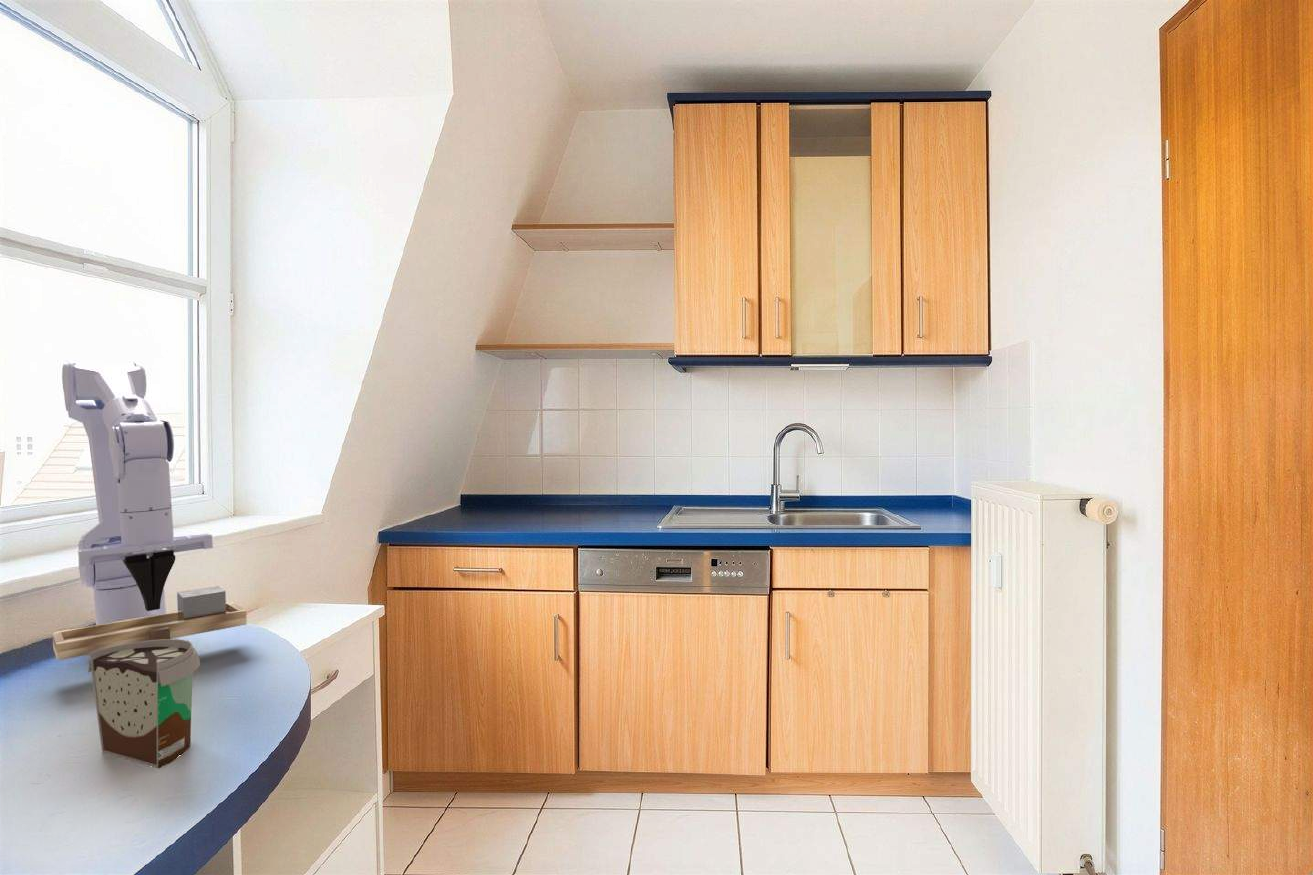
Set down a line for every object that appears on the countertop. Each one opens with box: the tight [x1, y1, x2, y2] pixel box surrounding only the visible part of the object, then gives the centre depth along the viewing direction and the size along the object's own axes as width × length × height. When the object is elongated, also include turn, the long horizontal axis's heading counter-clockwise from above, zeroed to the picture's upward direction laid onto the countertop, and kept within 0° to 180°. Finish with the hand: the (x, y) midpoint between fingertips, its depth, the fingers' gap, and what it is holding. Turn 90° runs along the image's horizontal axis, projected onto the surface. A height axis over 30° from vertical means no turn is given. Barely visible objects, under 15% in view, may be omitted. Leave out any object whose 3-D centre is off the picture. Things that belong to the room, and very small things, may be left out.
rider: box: [176, 585, 227, 621], centre depth 97 cm, size 5×5×4 cm
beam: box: [52, 601, 248, 661], centre depth 93 cm, size 20×8×2 cm, turn 134°
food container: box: [87, 638, 201, 770], centre depth 68 cm, size 12×6×10 cm, turn 65°
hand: (152, 608), depth 93 cm, fingers closed
